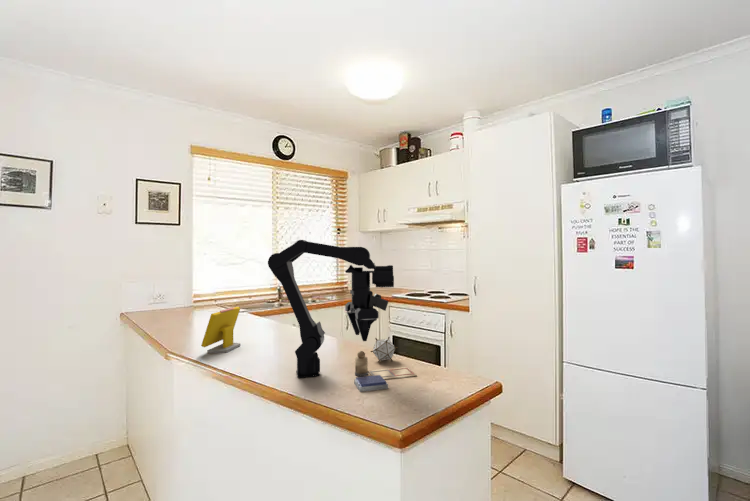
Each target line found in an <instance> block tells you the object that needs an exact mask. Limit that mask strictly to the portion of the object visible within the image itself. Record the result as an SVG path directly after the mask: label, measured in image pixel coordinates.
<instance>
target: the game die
mask: <svg viewBox="0 0 750 501" xmlns="http://www.w3.org/2000/svg"><path fill="white" fill-rule="evenodd" d="M374 340H376V341H375V343H374V346H373V349H372V350H371V351H370V353H373V354H374V356H375V357H376V358H377V360H378V361H377V363H380V362H381V361H389V360H390V361H391V362H394V361H393V356H394V353H395V351H396V349H398V346H395V345H394V344H393V342H392V341H391V340H390V336H388V338H382V339H381V338H379V339H378V338H377V337H375V338H374Z"/></svg>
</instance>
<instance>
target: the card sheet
mask: <svg viewBox="0 0 750 501" xmlns="http://www.w3.org/2000/svg"><path fill="white" fill-rule="evenodd" d="M368 375H369V376H375V375H380V376H381V377H382V378H383V379H384V380H385V381H386V380H395V379H404V378H413V377H418V375H417V374H416V373H415V372H413V371H411V369H410V368H409V367H407V366H403V367H393V368H382V369H372V370H368Z"/></svg>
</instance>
